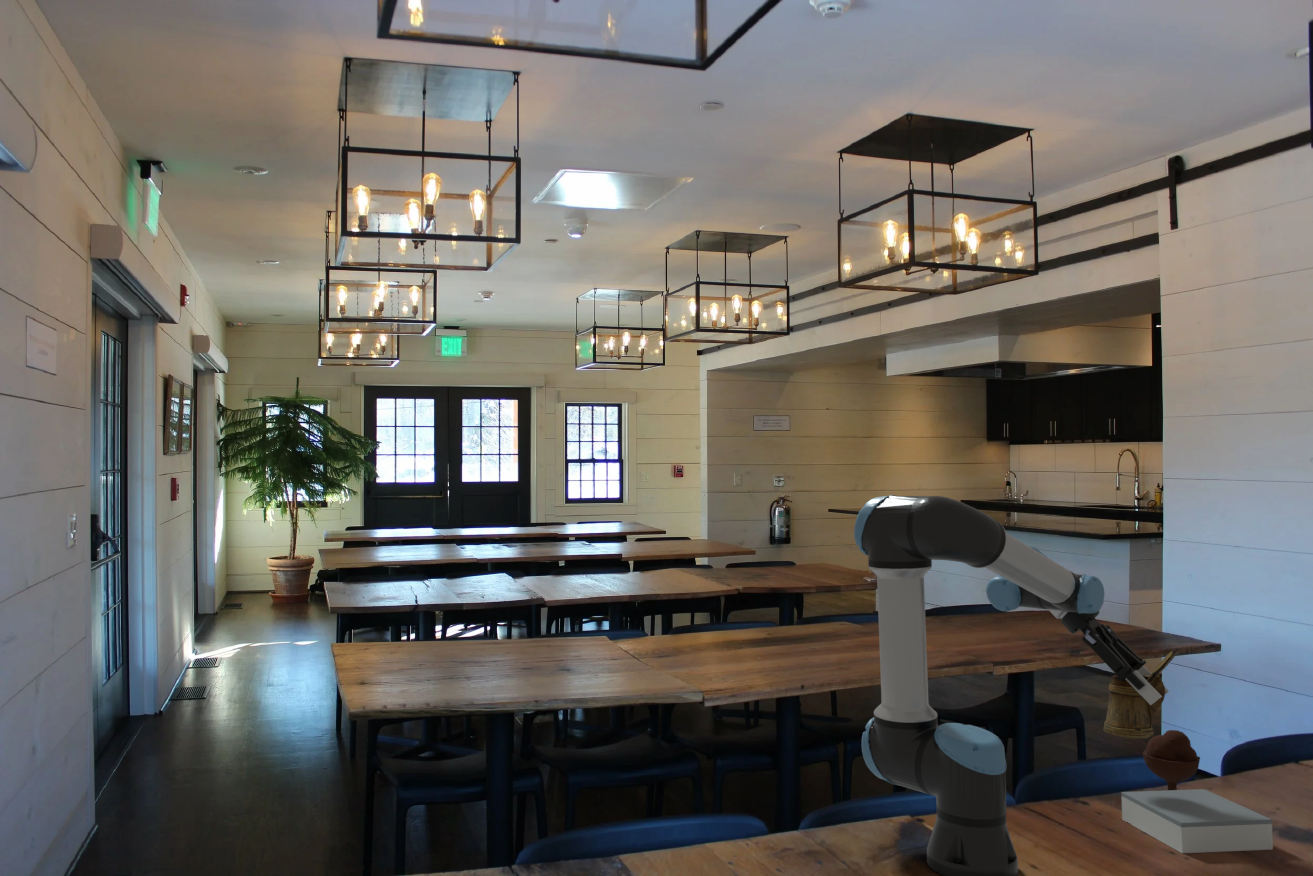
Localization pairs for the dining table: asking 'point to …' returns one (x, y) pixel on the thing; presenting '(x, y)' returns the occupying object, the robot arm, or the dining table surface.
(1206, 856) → the dining table surface
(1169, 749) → the ice cream bowl
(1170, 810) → the grey flat block
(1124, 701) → the wooden mug
